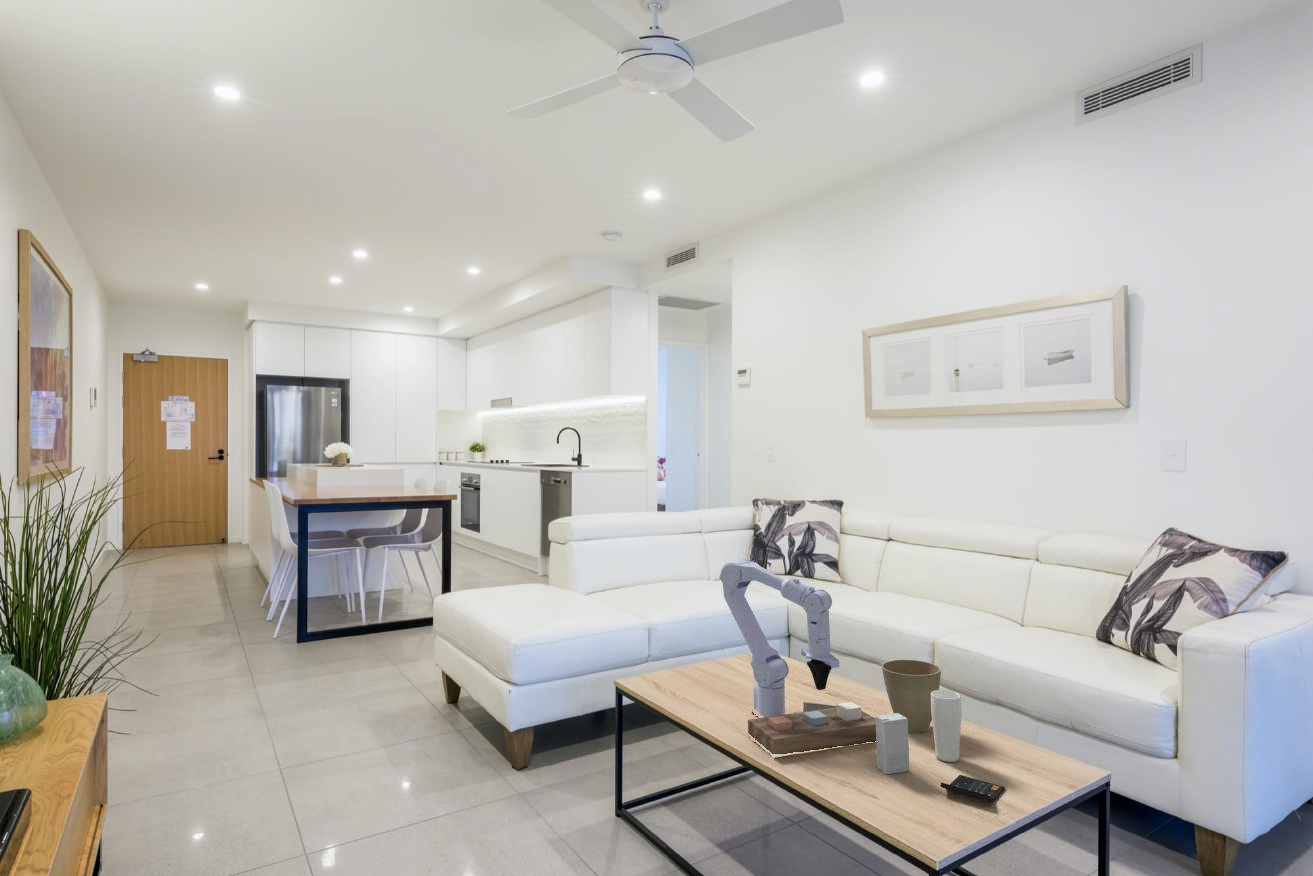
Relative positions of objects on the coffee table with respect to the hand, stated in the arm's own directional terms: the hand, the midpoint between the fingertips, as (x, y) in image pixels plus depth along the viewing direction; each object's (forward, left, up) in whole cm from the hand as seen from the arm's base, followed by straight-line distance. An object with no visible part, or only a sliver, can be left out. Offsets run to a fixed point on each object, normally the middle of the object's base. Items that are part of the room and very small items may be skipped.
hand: (820, 688), depth 188 cm
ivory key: (+6, +5, -7) cm, 10 cm away
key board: (+6, -5, -10) cm, 13 cm away
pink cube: (+6, -15, -8) cm, 18 cm away
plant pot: (+8, +23, -11) cm, 26 cm away
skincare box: (+28, +2, -11) cm, 30 cm away
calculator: (+43, +11, -11) cm, 45 cm away
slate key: (+6, -5, -8) cm, 11 cm away
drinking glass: (+27, +18, -11) cm, 34 cm away
